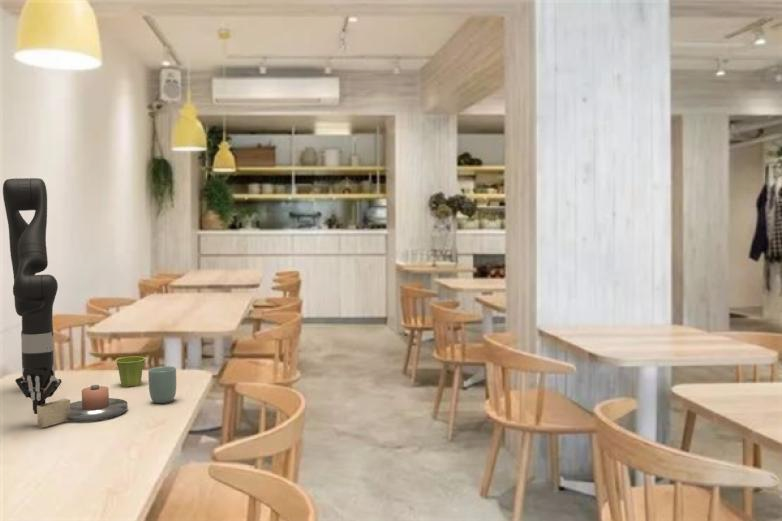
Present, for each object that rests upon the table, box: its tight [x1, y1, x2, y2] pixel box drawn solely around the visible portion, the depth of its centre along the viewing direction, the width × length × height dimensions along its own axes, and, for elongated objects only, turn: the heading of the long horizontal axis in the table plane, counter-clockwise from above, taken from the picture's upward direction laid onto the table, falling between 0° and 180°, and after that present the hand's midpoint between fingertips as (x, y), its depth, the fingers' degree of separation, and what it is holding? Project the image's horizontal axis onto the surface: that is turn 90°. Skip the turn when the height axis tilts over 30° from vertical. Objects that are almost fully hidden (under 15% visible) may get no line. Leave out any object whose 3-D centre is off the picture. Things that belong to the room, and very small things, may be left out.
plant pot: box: [114, 355, 146, 388], centre depth 233 cm, size 9×9×9 cm
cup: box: [147, 365, 177, 404], centre depth 211 cm, size 8×8×10 cm
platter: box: [36, 397, 129, 428], centre depth 196 cm, size 18×25×6 cm
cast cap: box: [81, 384, 110, 410], centre depth 198 cm, size 7×7×6 cm
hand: (39, 413), depth 189 cm, fingers closed
